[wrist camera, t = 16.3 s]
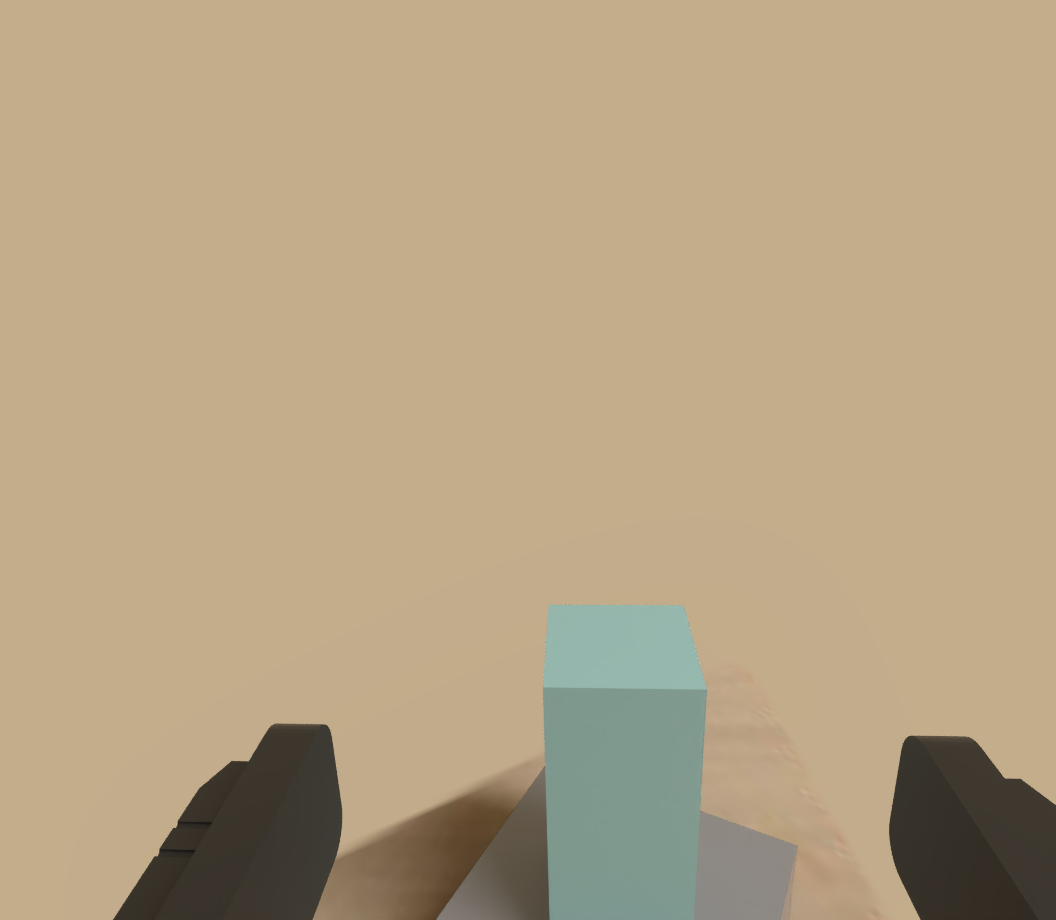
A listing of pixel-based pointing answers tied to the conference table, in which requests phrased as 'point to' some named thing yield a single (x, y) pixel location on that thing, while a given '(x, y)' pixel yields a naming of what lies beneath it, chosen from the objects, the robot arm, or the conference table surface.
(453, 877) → the conference table surface
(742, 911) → the podium
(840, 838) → the conference table surface
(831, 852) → the conference table surface
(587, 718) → the carton
